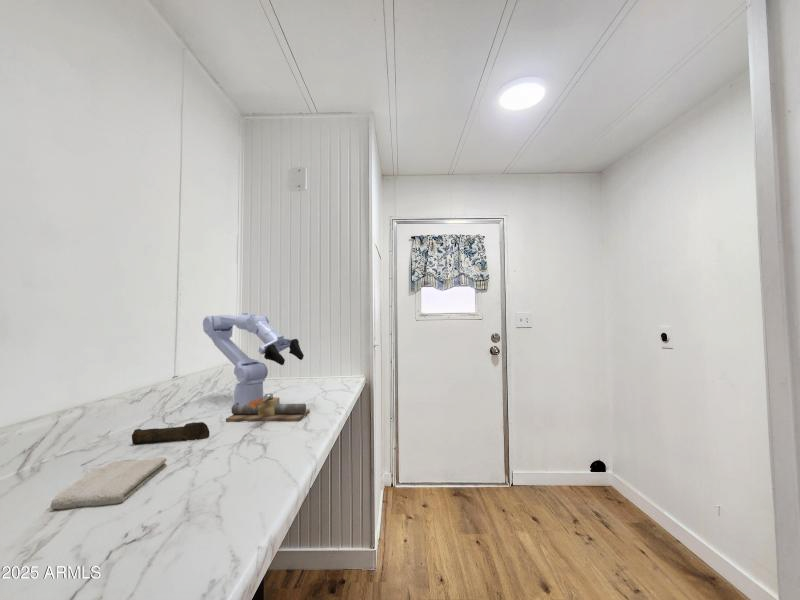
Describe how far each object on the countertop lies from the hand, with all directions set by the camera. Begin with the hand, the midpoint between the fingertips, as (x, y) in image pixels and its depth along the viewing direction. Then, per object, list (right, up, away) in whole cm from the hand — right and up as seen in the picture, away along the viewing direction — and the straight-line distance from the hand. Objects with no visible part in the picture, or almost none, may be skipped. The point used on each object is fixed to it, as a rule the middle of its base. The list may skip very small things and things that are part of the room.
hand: (293, 360), depth 122 cm
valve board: (-7, -18, -2) cm, 20 cm away
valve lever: (-8, -12, -7) cm, 16 cm away
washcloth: (-22, -18, -48) cm, 56 cm away
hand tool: (-27, -19, -22) cm, 39 cm away
